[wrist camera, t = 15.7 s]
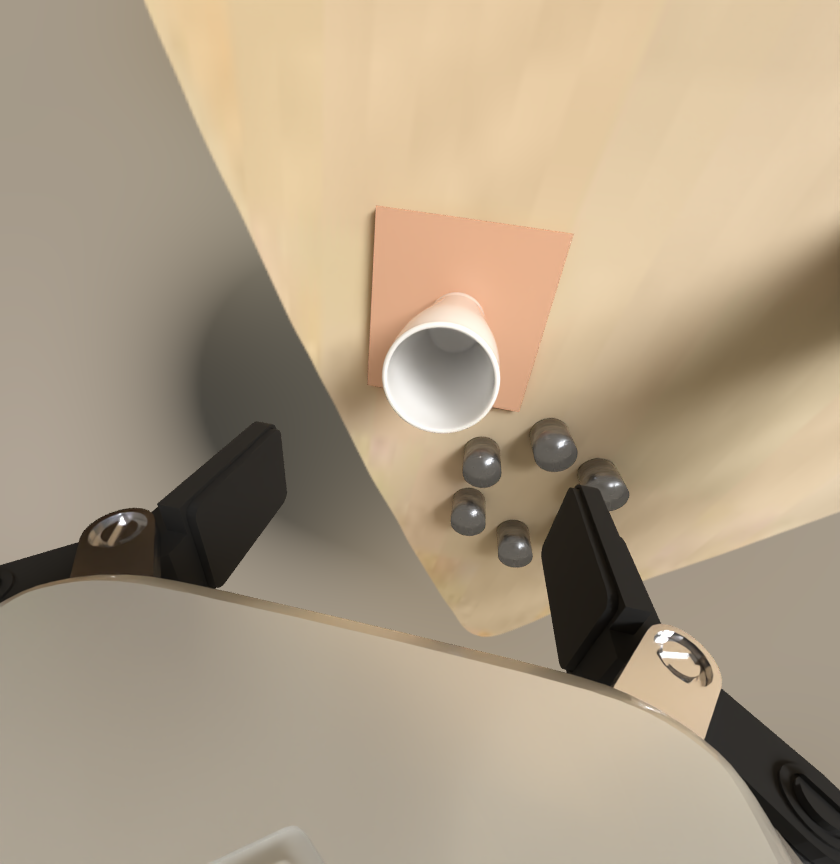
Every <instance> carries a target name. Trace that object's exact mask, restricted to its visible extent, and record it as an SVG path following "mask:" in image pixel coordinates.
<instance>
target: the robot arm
mask: <svg viewBox="0 0 840 864" xmlns="http://www.w3.org/2000/svg"><path fill="white" fill-rule="evenodd" d="M286 494H287V491H286V480H285V471H284V461H283V451H282V441H281V433H280V431H279V430H276V427H275V425H273V424H268V423H263V422H254V423H252V424H251V425H250V426H249V427H248V428H247V429H245V430H244V431H243V432H242V433H241V434H239V435H238V436H237V437H236V438H235V439H233V440H232V441H231V442H230V443H229V444H228V445H226V446H225V447H224V448H223V449H222V450H220V451H219V452H218V453H217V454H216V455H214V456H213V457H212V458H211V459H210V460H209V461H208V462H206V463H205V464H204V465H203V466H201V467H200V468H199V469H198V470H197V471H196V472H195V473H193V474H192V475H191V476H190V477H188V478H187V479H186V480H185V481H184V482H182V483H181V484H180V485H179V486H178V487H177V488H175V489H174V490H173V491H172V492H171V493H169V494H168V495H167V496H166V497H165V498H164V499H162V500H161V501H160V502H159V503H158V504H157V505H158V507H157V508H156V509H155V510H154V511H152V512H150V511H149V510H146V509H142V508H128V509H122V510H118V511H115V512H112V513H109V514H107V515H105V516H102V517H100V518H99V519H97V520H96V521H94V522H93V523H91V524H90V525H89V526H88V527H87V528H86V529H85V530H84V531H83V533H82V535H81V537H80V539H79V542H78V543H74V544H71V545H67V546H65V547H61V548H57V549H54V550H50V551H47V552H44V553H41V554H37V555H34V556H30V557H27V558H23V559H20V560H17V561H13V562H10V563H6V564H3V565H0V864H840V790H839V789H838V788H837V787H835V785H834V784H832V783H831V782H830V781H829V780H828V779H827V778H826V777H825V776H824V775H823V774H822V773H821V772H819V771H818V770H817V769H816V768H815V767H814V766H812V765H811V764H810V763H808V761H806V760H805V759H804V758H803V757H802V756H801V755H799V754H798V753H797V752H796V751H795V750H793V749H792V748H791V747H790V746H789V745H787V744H786V743H785V742H784V741H783V740H782V739H780V738H779V737H778V736H777V735H776V734H774V733H773V732H772V731H771V730H770V729H769V728H767V727H766V726H765V725H764V724H763V723H762V722H760V721H759V720H758V719H757V718H755V717H754V716H753V715H752V714H751V713H750V712H749V711H747V710H746V709H745V708H744V707H743V706H741V705H740V704H739V703H738V702H737V701H735V700H734V699H733V698H732V697H731V696H730V695H728V694H727V693H726V692H725V691H723V689H721V685H722V677H721V674H720V670H719V667H718V666H717V664H716V662H715V661H714V659H713V657H712V656H711V655H710V654H709V652H708V651H707V650H706V649H705V648H704V647H703V645H701V644H700V643H699V642H698V641H697V640H696V639H694V638H693V637H692V636H690V635H689V634H687V633H686V632H684V631H682V630H681V629H678V628H676V627H673V626H671V625H666V624H661V623H660V620H659V618H658V616H657V613H656V611H655V609H654V607H653V604H652V602H651V600H650V598H649V595H648V593H647V591H646V589H645V586H644V584H643V582H642V580H641V577H640V575H639V573H638V570H637V568H636V566H635V564H634V561H633V559H632V557H631V555H630V552H629V550H628V548H627V546H626V543H625V542H624V540H623V539H622V538H621V537H620V536H619V534H618V532H617V529H616V527H615V525H614V522H613V520H612V518H611V515H610V513H609V511H608V508H607V506H606V504H605V501H604V499H603V497H602V494H601V492H600V490H599V489H598V488H595V487H590V486H585V485H580V484H579V485H577V486H575V488H569V490H568V491H567V494H566V496H565V498H564V500H563V502H562V505H561V507H560V509H559V511H558V513H557V516H556V518H555V520H554V522H553V524H552V527H551V529H550V531H549V533H548V535H547V538H546V540H545V542H544V544H543V547H542V552H541V557H542V564H543V570H544V576H545V582H546V587H547V593H548V599H549V605H550V611H551V617H552V623H553V629H554V635H555V640H556V647H557V653H558V659H559V664H560V666H561V668H562V669H565V670H566V671H567V673H565V672H561V671H556V670H553V669H549V668H545V667H541V666H538V665H534V664H530V663H526V662H522V661H518V660H514V659H511V658H506V657H502V656H498V655H494V654H490V653H486V652H482V651H477V650H473V649H469V648H465V647H461V646H457V645H453V644H448V643H444V642H440V641H436V640H432V639H428V638H423V637H420V636H415V635H411V634H407V633H403V632H398V631H394V630H390V629H386V628H381V627H377V626H373V625H369V624H364V623H360V622H356V621H352V620H348V619H343V618H339V617H334V616H330V615H326V614H322V613H317V612H314V611H309V610H304V609H300V608H296V607H291V606H287V605H283V604H279V603H274V602H270V601H266V600H261V599H257V598H253V597H248V596H244V595H239V594H235V593H231V592H226V591H222V590H217V589H216V587H217V588H219V587H221V586H223V584H224V583H225V582H226V581H227V579H228V578H229V576H230V575H231V574H232V573H233V571H234V570H235V568H236V567H237V566H238V564H239V563H240V561H241V560H242V559H243V558H244V556H245V555H246V553H247V552H248V551H249V549H250V548H251V547H252V545H253V544H254V542H255V541H256V540H257V538H258V537H259V536H260V534H261V533H262V531H263V530H264V529H265V527H266V526H267V525H268V523H269V522H270V521H271V519H272V518H273V517H274V515H275V514H276V512H277V511H278V510H279V508H280V507H281V505H282V504H283V503H284V501H285V498H286Z"/></svg>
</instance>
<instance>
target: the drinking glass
mask: <svg viewBox="0 0 840 864" xmlns="http://www.w3.org/2000/svg"><path fill="white" fill-rule="evenodd" d="M382 383H383V388H384V392H385V395H386V397H387V400H388V402H389V403H390V405H391V407H392V408H393V409H394V411H395V412H396V413H397V414H398V415H399V416H400V417H401V418H402V419H403V420H405V421H406V422H407V423H409V424H411V425H412V426H414V427H416V428H418V429H421V430H424V431H428V432H432V433H453V432H458V431H461V430H464V429H467V428H469V427H471V426H473V425H474V424H476V423H477V422H479V421H480V420H481V419H482V418H483V417H484V416H485V415H486V414H487V413H488V412H489V411H490V409H491V408H492V406H493V405H494V402H495V400H496V398H497V395H498V392H499V387H500V359H499V353H498V347H497V344H496V340H495V338H494V335H493V333H492V331H491V329H490V327H489V325H488V323H487V321H486V319H485V314H484V311H483V309H482V307H481V305H480V304H479V303H478V301H477V300H476V299H474V298H473V297H471V296H470V295H468V294H465V293H460V292H452V293H448V294H445V295H443V296H441V297H440V298H438V299H437V300H436V301H435V302H434V303H433V304H432V305H431V306H429V307H428V308H426V309H425V310H423V311H421V312H420V313H419V314H417V315H416V316H415V317H413V318H412V319H411V320H410V321H409V322H408V323H407V324H406V325H405V326H404V328H403V329H402V330H401V331H400V333H399V334H398V336H397V337H396V339H395V340H394V342H393V344H392V345H391V347H390V349H389V350H388V352H387V354H386V357H385V360H384V363H383V369H382Z"/></svg>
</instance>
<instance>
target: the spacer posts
mask: <svg viewBox="0 0 840 864" xmlns="http://www.w3.org/2000/svg"><path fill="white" fill-rule="evenodd" d="M530 441H531V445H532V449H533V454H534V458H535V461H536V463H537V465H538V466H539V467H540V468H542V469H544V470H546V471H551V472H558V471H562V470H565V469H567V468H569V467H570V466H571V465H572V464H573V463H574V462H575V460H576V458H577V448H576V446H575V444H574V441H573V439H572V437H571V434H570V432H569V430H568V428H567V426H566V424H565V423H564V422H562V421H561V420H558V419H554V418H547V419H543V420H541V421H539V422H537V423H536V424H535V425H534V426H533V427H532V429H531V431H530ZM463 476H464V479H465V480H466V481H467V482H468V483H469V484H471V485H472V486H475V487H479V488H486V487H490V486H492V485H494V484H496V483H497V482H498V481H499V479H500V477H501V462H500V450H499V447H498V445H497V443H496V442H495V441H493V440H492V439H490V438H487V437H477V438H474V439H472V440H470V441H469V442H468V443H467V444H466V446H465V449H464V460H463ZM577 476H578V479H579V482H580V484H581V485H585V486H590V487H595V488H598V489H599V490H600V492H601V494H602V497H603V499H604V501H605V504H606V506H607V508H608V511H613V510H616V509H618V508H620V507H622V506H623V505H624V504H625V503H626V502H627V500H628V498H629V491H628V489H627V487H626V485H625V483H624V482H623V480H622V478H621V476H620V474H619V473H618V471H617V469H616V467H615V466H614V464H613V463H612V462H610V461H609V460H606V459H592V460H589V461H587V462H585V463H584V464H583V465H582V466H581V467H580V468H579V470H578V474H577ZM451 526H452V528H453V529H454V530H455V531H456V532H458V533H459V534H462V535H466V536H473V535H477V534H479V533H481V532H482V531H483V530H484V528H485V497H484V495H483V494H482V493H481V492H480V491H478V490H476V489H473V488H463V489H460V490H459V491H457V492H456V493H455V494H454V497H453V505H452V514H451ZM497 540H498V557H499V560H500V561H501V562H502V563H503V564H505V565H507V566H509V567H523V566H526V565H527V564H529V563H530V562H531V560H532V557H533V555H532V549H531V542H530V536H529V530H528V527H527V526H526V525H525V524H524V523H522V522H520V521H516V520H509V521H505V522H503V523H501V524H500V525H499V526H498V528H497Z"/></svg>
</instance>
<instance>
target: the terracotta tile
mask: <svg viewBox="0 0 840 864" xmlns="http://www.w3.org/2000/svg"><path fill="white" fill-rule="evenodd" d="M573 235H574V234H572V233H565V232H558V231H551V230H544V229H537V228H530V227H523V226H516V225H509V224H502V223H495V222H488V221H481V220H474V219H467V218H460V217H453V216H446V215H439V214H432V213H425V212H418V211H411V210H404V209H397V208H390V207H383V206H376V216H375V237H374V258H373V279H372V300H371V321H370V342H369V363H368V384H367V385H371V386H376V387H382V388H383V383H382V369H383V363H384V360H385V357H386V354H387V352H388V350H389V349H390V347H391V345H392V344H393V342H394V340H395V339H396V337H397V336H398V334H399V333H400V331H401V330H402V329H403V328H404V326H405V325H406V324H407V323H408V322H409V321H410V320H411V319H412V318H413V317H415V316H416V315H417V314H419V313H420V312H421V311H423V310H425V309H426V308H428V307H429V306H431V305H432V304H433V303H434V302H435V301H436V300H437V299H438V298H440V297H441V296H443V295H445V294H448V293H452V292H460V293H465V294H468V295H470V296H471V297H473V298H474V299H476V300H477V301H478V303H479V304H480V305H481V307H482V309H483V311H484V314H485V319H486V321H487V323H488V325H489V327H490V329H491V331H492V333H493V335H494V338H495V340H496V344H497V347H498V353H499V359H500V387H499V392H498V395H497V398H496V400H495V402H494V405H493V406H492V407H494V408H500V409H505V410H511V411H517V412H519V410H520V407H521V404H522V400H523V397H524V394H525V391H526V387H527V384H528V381H529V378H530V374H531V371H532V368H533V365H534V361H535V358H536V355H537V352H538V348H539V345H540V342H541V339H542V335H543V332H544V329H545V326H546V322H547V319H548V316H549V313H550V309H551V306H552V303H553V300H554V296H555V293H556V290H557V287H558V283H559V280H560V277H561V274H562V270H563V267H564V264H565V261H566V257H567V254H568V251H569V248H570V244H571V241H572V238H573Z"/></svg>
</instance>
